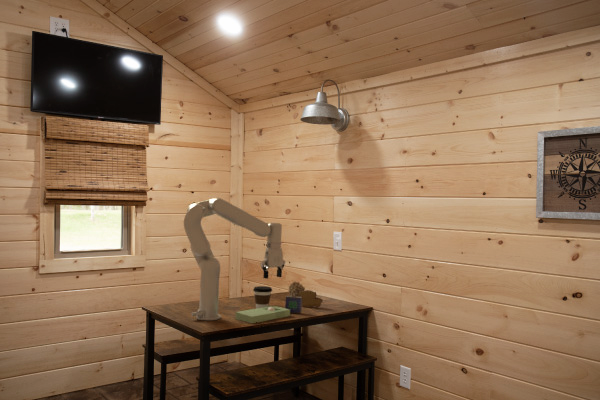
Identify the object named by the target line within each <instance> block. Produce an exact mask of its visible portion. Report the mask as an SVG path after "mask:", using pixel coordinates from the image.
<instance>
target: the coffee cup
mask: <svg viewBox="0 0 600 400" xmlns="http://www.w3.org/2000/svg"><path fill="white" fill-rule="evenodd" d="M252 291H253V292H254V303H255V309H257V308H262V307H268V306H270V305H269V304H270V302H271V294H272V293H271V292H273V289H272V287H271V286H262V285H261V286H260V285H259V286H255V287H253V290H252Z"/></svg>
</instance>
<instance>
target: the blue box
mask: <svg viewBox="0 0 600 400" xmlns="http://www.w3.org/2000/svg"><path fill="white" fill-rule="evenodd" d="M284 304H285V305H284V308H285V309H289V310H290V314H300V315H301V314H302V308H303V306H302V297H297V296H296V297H295V294H293V295H291V294H290V295H286V296H285V303H284Z"/></svg>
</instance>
